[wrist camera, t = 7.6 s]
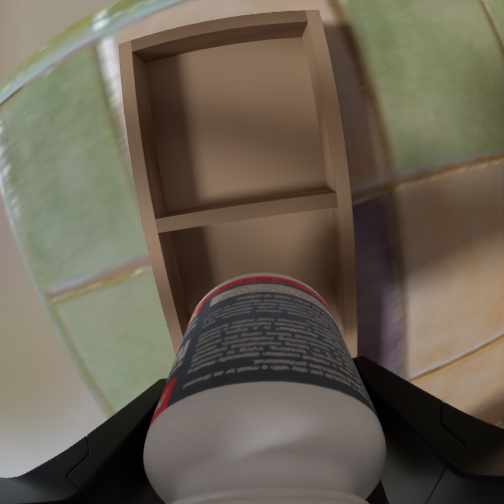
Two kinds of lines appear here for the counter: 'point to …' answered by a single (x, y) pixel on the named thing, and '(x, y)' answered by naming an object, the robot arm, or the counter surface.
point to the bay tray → (240, 160)
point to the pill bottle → (264, 404)
